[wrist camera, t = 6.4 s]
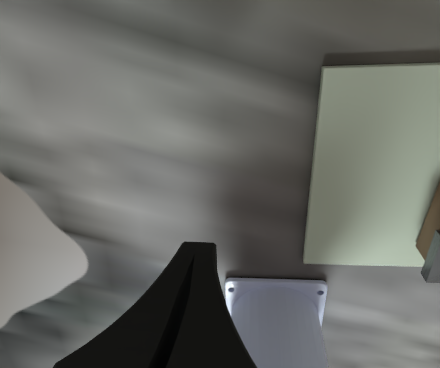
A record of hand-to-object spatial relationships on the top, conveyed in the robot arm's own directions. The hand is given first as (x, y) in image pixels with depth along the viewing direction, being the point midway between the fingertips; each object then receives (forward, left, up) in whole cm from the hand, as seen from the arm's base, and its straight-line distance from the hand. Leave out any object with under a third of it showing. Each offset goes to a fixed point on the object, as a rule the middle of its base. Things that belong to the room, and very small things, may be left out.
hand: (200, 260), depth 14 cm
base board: (-1, -13, -9) cm, 16 cm away
